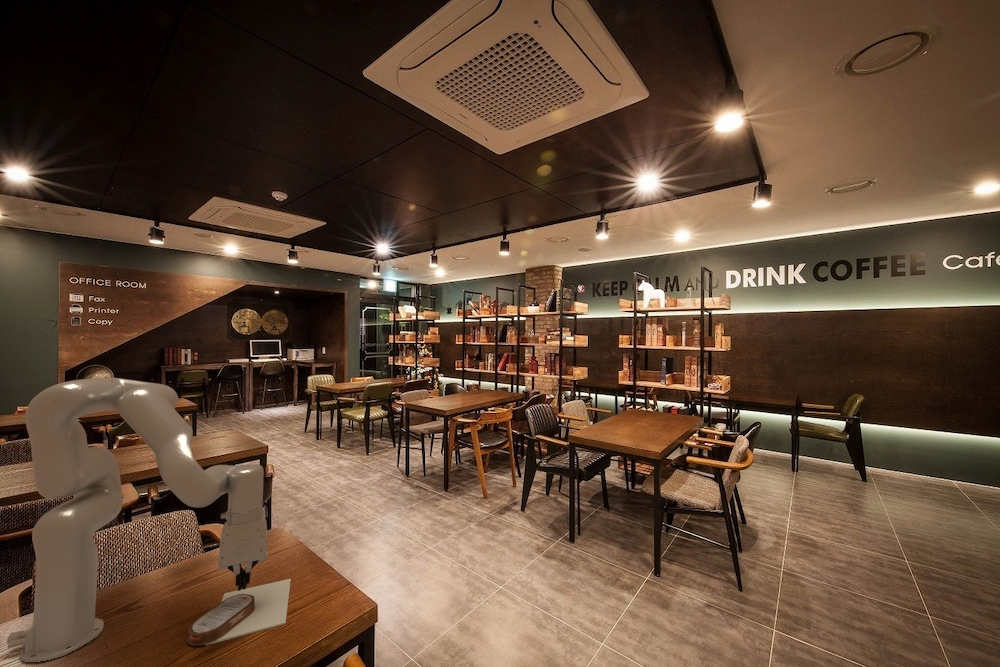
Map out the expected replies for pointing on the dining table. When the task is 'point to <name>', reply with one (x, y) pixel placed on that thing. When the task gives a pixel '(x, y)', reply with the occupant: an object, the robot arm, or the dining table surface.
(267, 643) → the dining table surface
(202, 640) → the tin
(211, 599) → the dining table surface
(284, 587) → the mat
